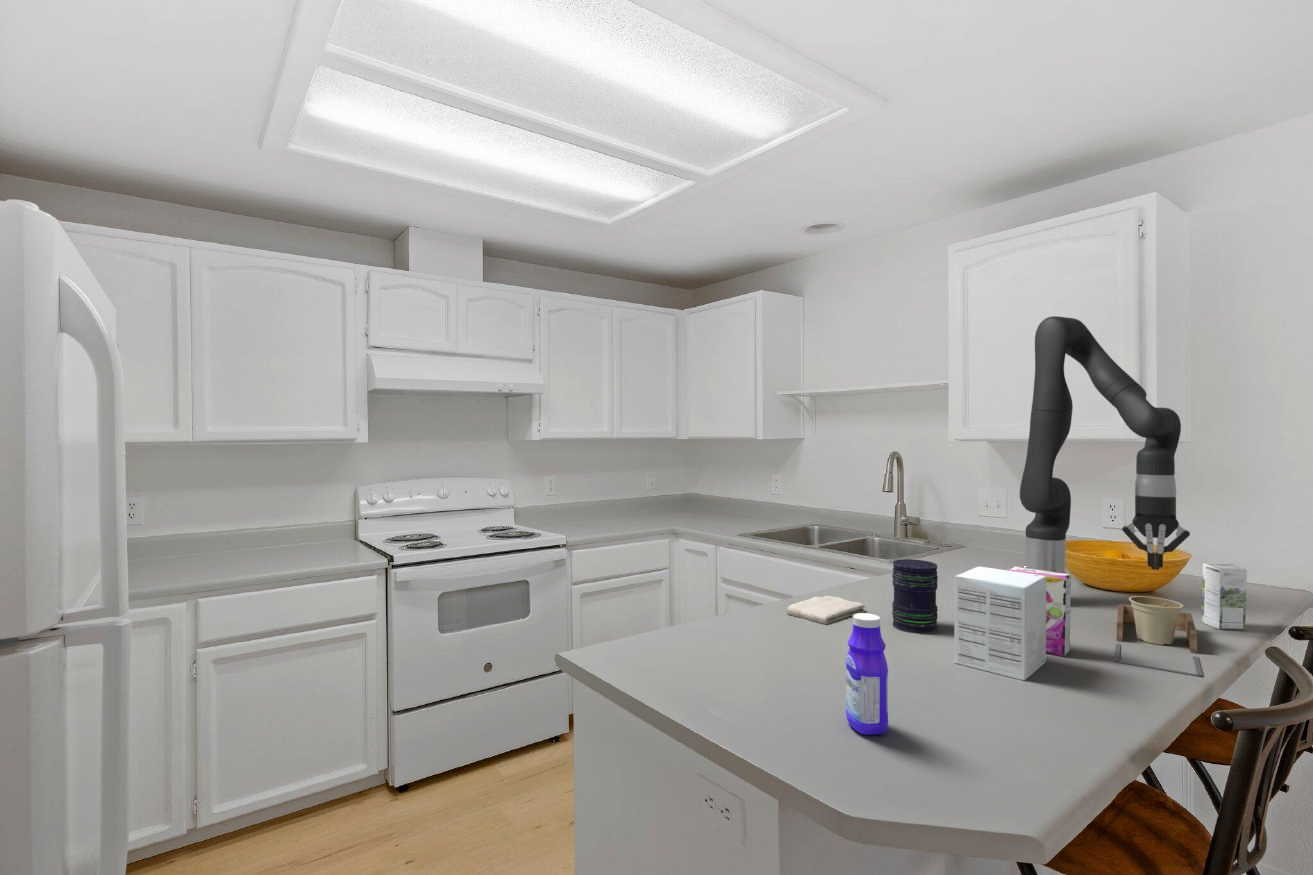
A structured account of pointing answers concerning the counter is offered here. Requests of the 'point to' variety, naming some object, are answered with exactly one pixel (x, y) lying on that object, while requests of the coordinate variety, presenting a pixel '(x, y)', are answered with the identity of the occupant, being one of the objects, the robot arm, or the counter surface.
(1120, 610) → the brown wooden frame
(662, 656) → the counter surface
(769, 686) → the counter surface
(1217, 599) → the syrup box
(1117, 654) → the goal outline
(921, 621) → the storage jar
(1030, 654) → the supplement box
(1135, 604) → the flower pot
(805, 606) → the washcloth
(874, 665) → the bottle
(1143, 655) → the counter surface
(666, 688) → the counter surface
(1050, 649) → the candy bar box
